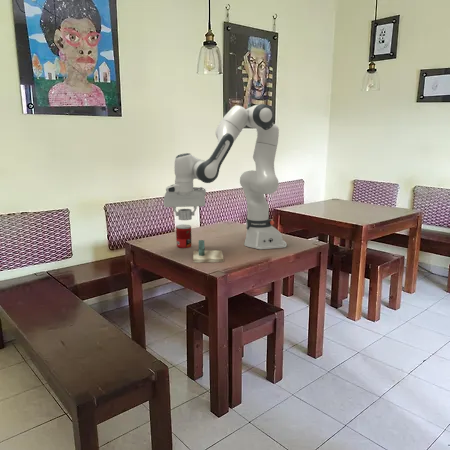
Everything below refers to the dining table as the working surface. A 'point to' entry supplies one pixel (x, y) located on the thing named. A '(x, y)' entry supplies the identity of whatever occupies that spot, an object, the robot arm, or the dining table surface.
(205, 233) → the dining table surface
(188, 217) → the grey segmented ring
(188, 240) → the canned food
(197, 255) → the green peg on board
